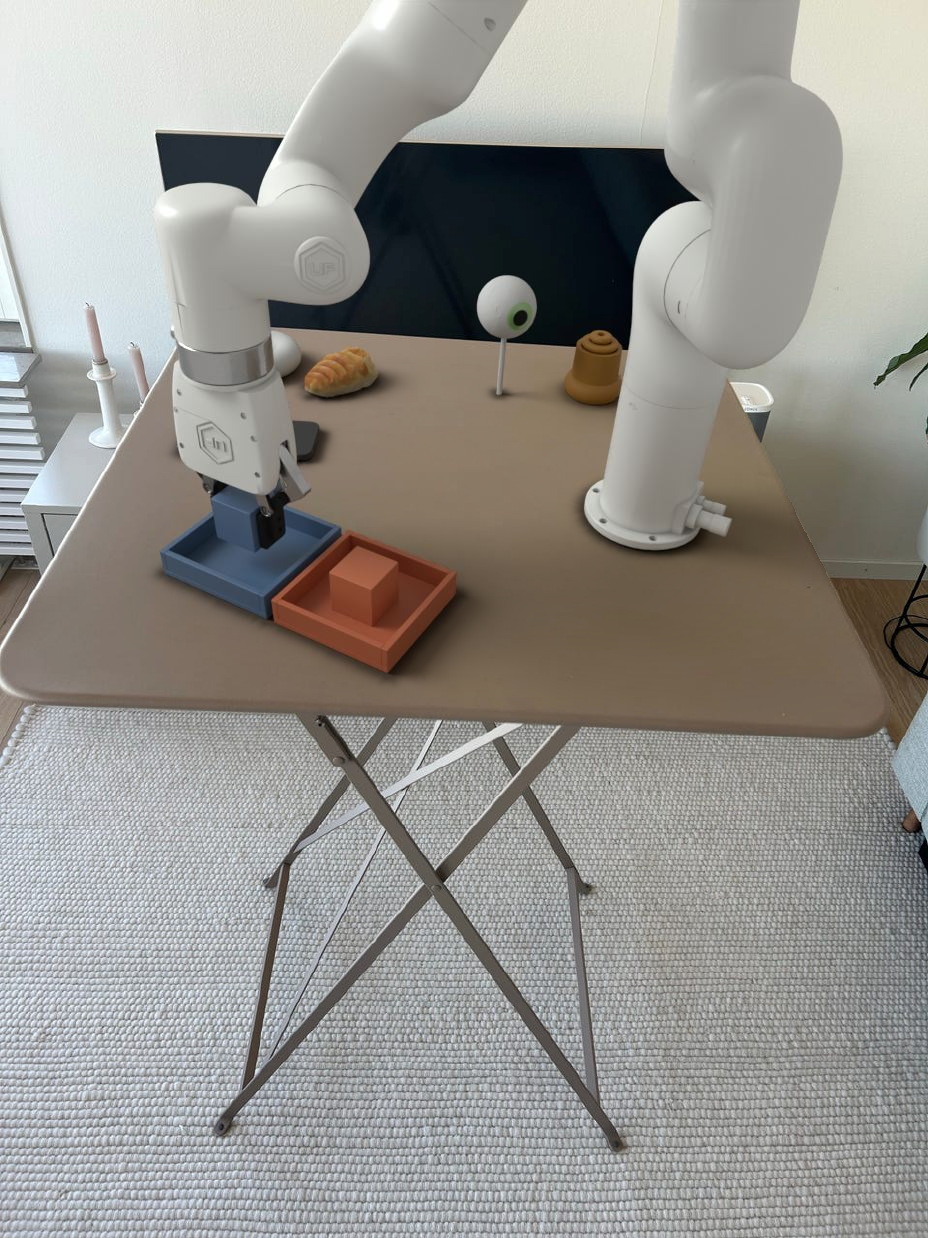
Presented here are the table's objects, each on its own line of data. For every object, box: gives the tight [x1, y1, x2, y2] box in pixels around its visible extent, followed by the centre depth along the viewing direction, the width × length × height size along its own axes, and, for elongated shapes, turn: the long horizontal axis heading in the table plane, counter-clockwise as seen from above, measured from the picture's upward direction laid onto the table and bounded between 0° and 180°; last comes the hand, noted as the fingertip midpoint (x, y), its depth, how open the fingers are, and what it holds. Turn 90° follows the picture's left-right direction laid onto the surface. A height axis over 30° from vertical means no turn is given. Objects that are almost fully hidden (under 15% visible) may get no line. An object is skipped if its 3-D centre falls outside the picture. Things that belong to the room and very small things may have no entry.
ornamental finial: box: [563, 329, 623, 406], centre depth 112 cm, size 8×8×8 cm
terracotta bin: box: [271, 529, 458, 674], centre depth 81 cm, size 12×12×3 cm
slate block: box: [210, 485, 274, 553], centre depth 83 cm, size 4×4×4 cm
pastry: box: [304, 345, 379, 398], centre depth 111 cm, size 9×7×4 cm
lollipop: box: [476, 275, 538, 396], centre depth 108 cm, size 7×7×15 cm
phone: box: [292, 419, 321, 461], centre depth 102 cm, size 7×1×15 cm
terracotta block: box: [329, 546, 398, 627], centre depth 80 cm, size 4×4×4 cm
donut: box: [271, 329, 302, 378], centre depth 114 cm, size 10×4×10 cm
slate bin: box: [159, 504, 343, 620], centre depth 86 cm, size 12×12×3 cm
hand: (250, 530), depth 84 cm, fingers closed on slate block, 4 cm apart
